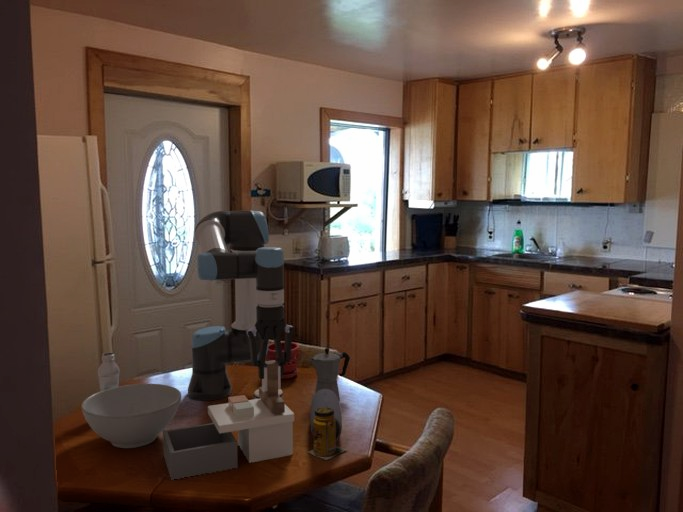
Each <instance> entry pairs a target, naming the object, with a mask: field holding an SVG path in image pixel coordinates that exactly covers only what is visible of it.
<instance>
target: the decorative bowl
mask: <svg viewBox="0 0 683 512" xmlns="http://www.w3.org/2000/svg"><path fill="white" fill-rule="evenodd" d="M181 400H182V393H181V391H180V390H179V389H178V388H175V387H174V386H170V385H167V384H161V383H135V384H133V383H132V384H125V385H118V387H114V388H110V389H107V390H103V391H101V390H100V391H97V392H96V393H93V394H92V395H90V396H88V397H87V398H85V399H84V401H82V403H81V412H82V415H83V417H84V418H85V421H86V422H87V424H88V425H89V427H90V428H91V430H92V431H93V432H94V433H96V435H97V436H99V437H100V438H102V439H104V440H105V441H108V442H110V443H111V445H112V446H113V447H116V448H121V449H134V448H139V447H143V446H146V445H149V444H150V443H152V442H154V441H155V440H156V439H157V436H158V435H160V434H161V433H163V431H164V430H166V429H167V428H168V426H169V425H170V424H171V422H172V421H173V420H174V418H175V416H176V414H177V412H178V409H179V407H180V404H181Z"/></svg>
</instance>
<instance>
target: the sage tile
mask: <svg viewBox="0 0 683 512" xmlns="http://www.w3.org/2000/svg"><path fill="white" fill-rule="evenodd" d="M233 413H234V415H235V416H236V418H237V419H239V418H245V417H252V416H254V407H253V405H252V404H251V403H250V401H249V402H242V403H235V404H233Z"/></svg>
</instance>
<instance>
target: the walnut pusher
mask: <svg viewBox="0 0 683 512" xmlns="http://www.w3.org/2000/svg"><path fill="white" fill-rule="evenodd" d="M265 366H266V367H267V391H264V390H263V389H262V386H258V389H259V398H260V399H261V400H262V401H263V402H264V404H265V405H266V406H267V407H268V408H269V409H270V411H271V412H272V413H273V414H280V413H285V405H286V404H285V403H286V402H285V401H284V399H283V398H282V399H281V397H280V396H279V395H278V363H277V362H276V361H275V360H272V361H267V360H265Z"/></svg>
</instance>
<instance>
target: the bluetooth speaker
mask: <svg viewBox="0 0 683 512" xmlns="http://www.w3.org/2000/svg"><path fill="white" fill-rule="evenodd" d="M321 407H328V408H331V409H333V410H334V419H335V421H336V442H337V441H338V440H339V439H340V437H341V435H342V429H343V418H342V410H341V405H340V400H338V397H337V396H336V394H335V393H334V392H333V391H332V390H329V389H321V390H319V391H317V392H316V393H315V392H314V395H312V399H311V402H310V411H309V420H310V430H311V434H312V437H313V438H314V425H313V423H314V419H315V410H316V409H318V408H321Z"/></svg>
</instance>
